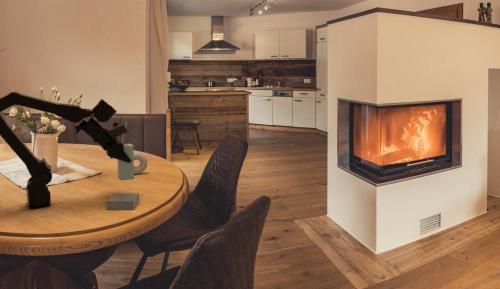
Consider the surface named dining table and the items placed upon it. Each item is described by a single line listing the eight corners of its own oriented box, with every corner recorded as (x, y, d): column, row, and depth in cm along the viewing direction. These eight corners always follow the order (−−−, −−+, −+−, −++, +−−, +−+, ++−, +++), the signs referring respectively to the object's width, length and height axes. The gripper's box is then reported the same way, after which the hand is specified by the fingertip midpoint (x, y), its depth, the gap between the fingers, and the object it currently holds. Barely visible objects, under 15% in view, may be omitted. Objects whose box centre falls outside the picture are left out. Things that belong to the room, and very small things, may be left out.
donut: (147, 172, 188) (147, 151, 187) (148, 174, 185) (147, 152, 183) (124, 173, 185) (124, 152, 183) (125, 175, 182) (124, 153, 180)
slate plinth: (106, 209, 138) (106, 201, 137) (113, 201, 146) (113, 193, 146) (133, 209, 138) (133, 201, 138) (139, 201, 147) (138, 193, 147)
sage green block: (120, 180, 149) (119, 146, 146) (118, 177, 153) (117, 144, 151) (134, 179, 151) (133, 145, 149) (131, 176, 155) (130, 143, 153)
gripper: (116, 118, 138) (150, 149, 145) (109, 113, 154) (139, 140, 161) (92, 143, 136) (127, 172, 143) (88, 134, 152) (119, 161, 159)
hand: (129, 160), depth 151 cm, fingers closed on sage green block, 5 cm apart
